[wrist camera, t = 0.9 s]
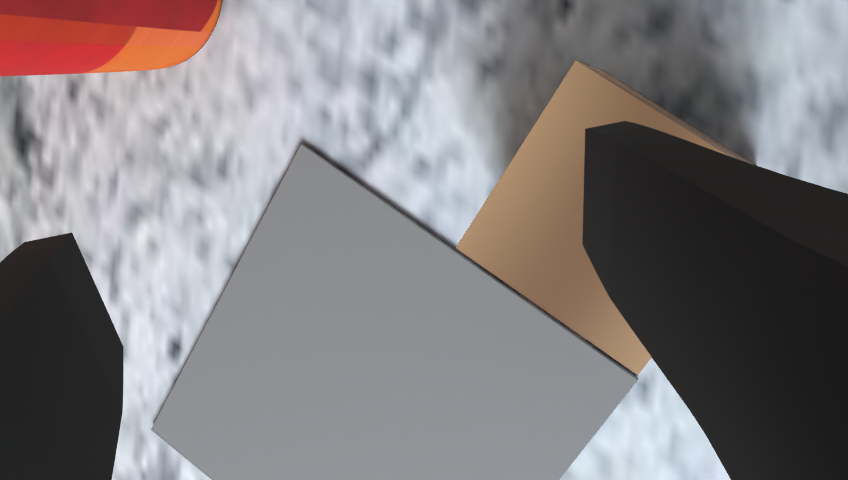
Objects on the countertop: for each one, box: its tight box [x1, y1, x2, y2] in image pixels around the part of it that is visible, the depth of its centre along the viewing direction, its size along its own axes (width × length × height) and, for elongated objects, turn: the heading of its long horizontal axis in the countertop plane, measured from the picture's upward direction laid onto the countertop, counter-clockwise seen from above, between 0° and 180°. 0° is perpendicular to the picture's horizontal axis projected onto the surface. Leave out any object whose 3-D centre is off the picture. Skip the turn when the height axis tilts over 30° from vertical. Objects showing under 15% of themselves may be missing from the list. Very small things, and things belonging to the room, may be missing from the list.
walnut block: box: [456, 60, 754, 375], centre depth 19 cm, size 5×5×6 cm
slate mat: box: [151, 144, 638, 480], centre depth 26 cm, size 13×13×1 cm
